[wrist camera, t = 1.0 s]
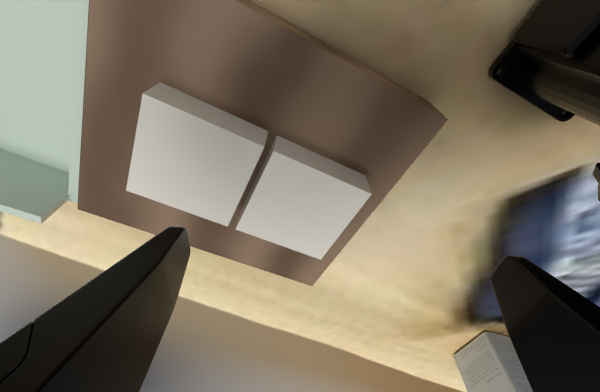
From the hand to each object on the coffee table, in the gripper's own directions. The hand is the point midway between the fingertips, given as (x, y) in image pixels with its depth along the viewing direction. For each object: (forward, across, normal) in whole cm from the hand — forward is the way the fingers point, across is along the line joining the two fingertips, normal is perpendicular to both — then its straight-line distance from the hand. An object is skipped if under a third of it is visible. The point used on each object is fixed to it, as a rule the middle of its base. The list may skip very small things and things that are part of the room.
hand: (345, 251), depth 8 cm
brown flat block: (+12, +5, +3) cm, 14 cm away
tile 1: (+10, +7, +2) cm, 12 cm away
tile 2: (+10, +1, +5) cm, 11 cm away
